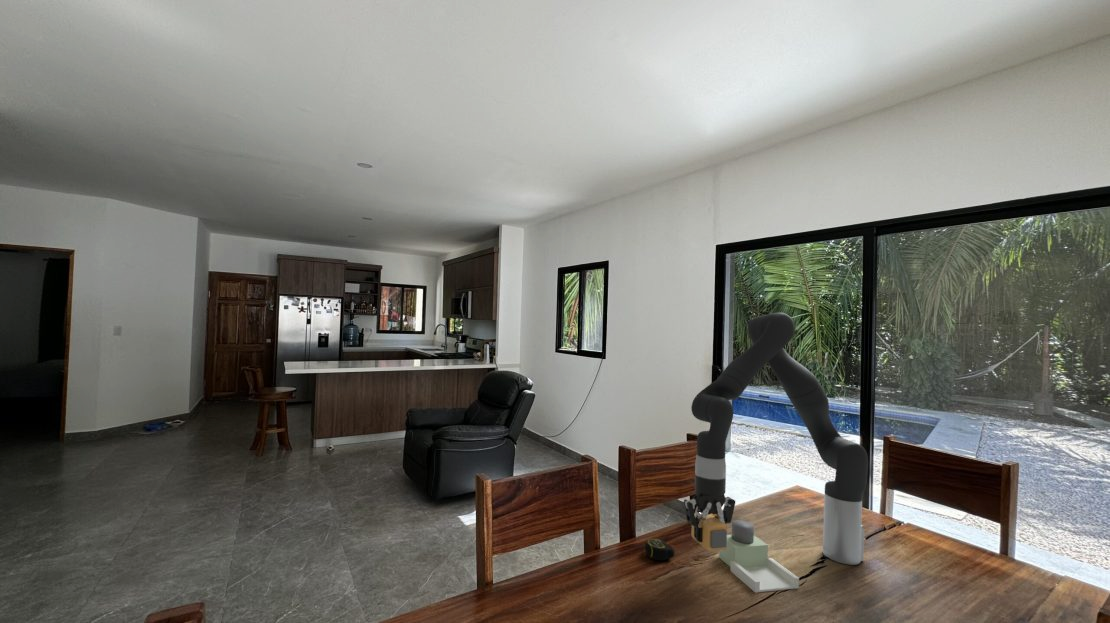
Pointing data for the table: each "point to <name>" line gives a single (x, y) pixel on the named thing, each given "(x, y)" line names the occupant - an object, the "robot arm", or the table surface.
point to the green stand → (755, 561)
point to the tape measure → (658, 549)
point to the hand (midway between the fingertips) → (708, 539)
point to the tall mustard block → (713, 534)
